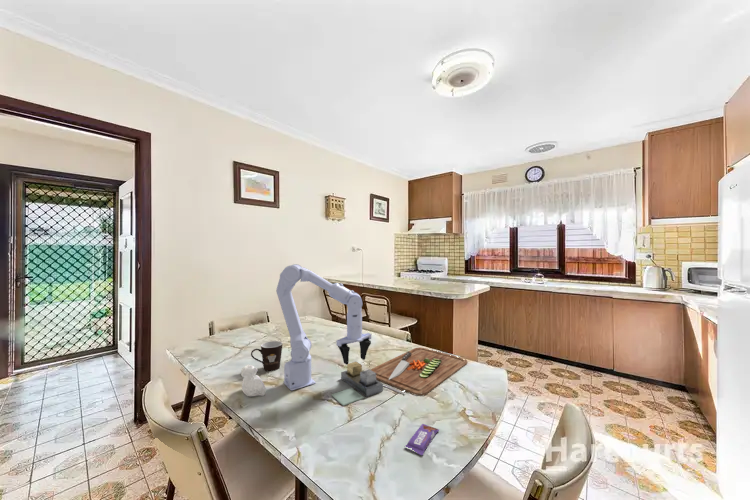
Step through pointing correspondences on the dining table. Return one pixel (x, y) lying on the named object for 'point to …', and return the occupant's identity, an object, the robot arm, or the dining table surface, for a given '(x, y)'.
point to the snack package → (422, 438)
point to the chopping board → (418, 370)
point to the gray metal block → (367, 378)
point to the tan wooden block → (354, 369)
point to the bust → (252, 382)
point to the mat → (347, 396)
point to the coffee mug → (270, 355)
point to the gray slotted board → (361, 388)
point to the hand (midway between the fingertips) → (354, 361)
